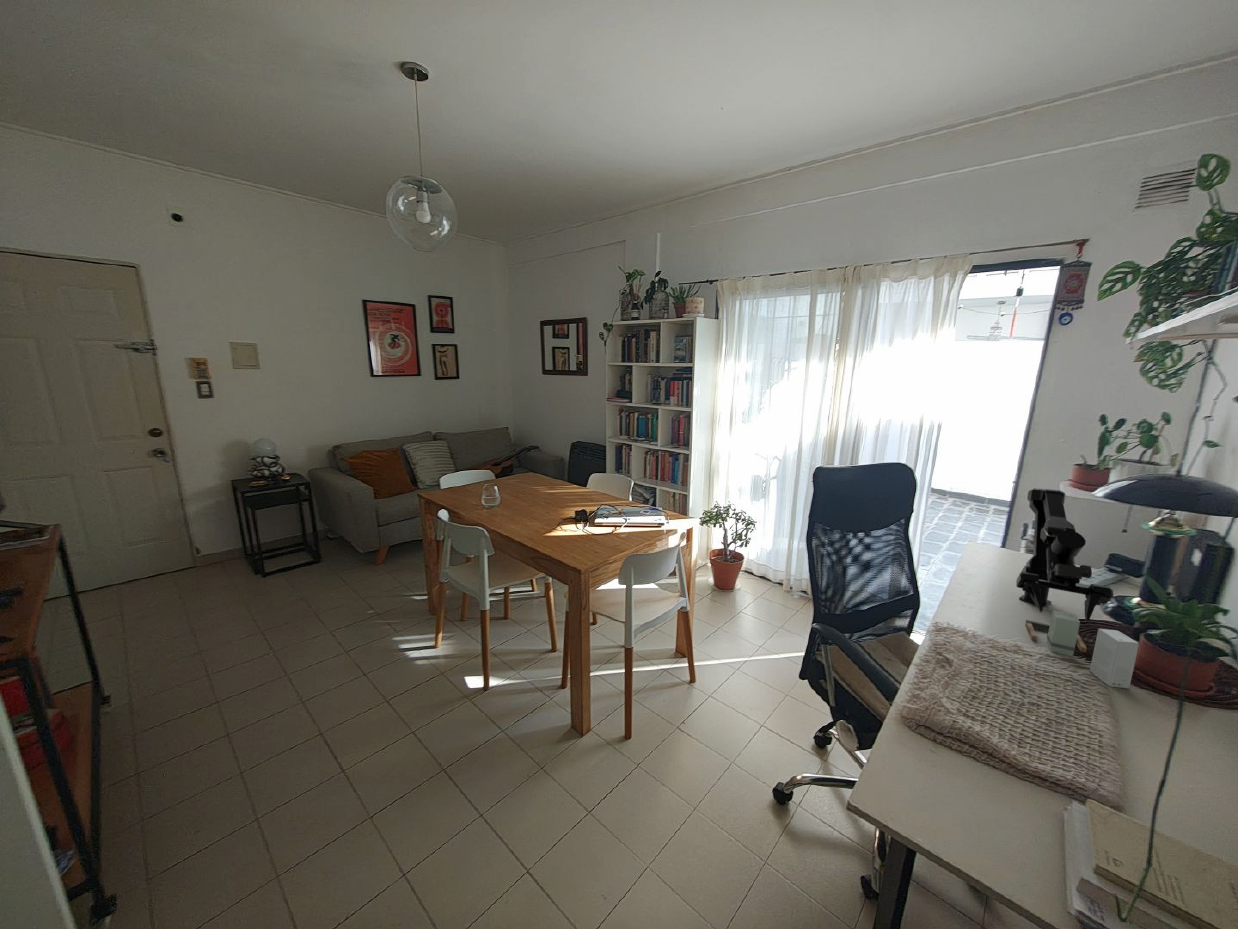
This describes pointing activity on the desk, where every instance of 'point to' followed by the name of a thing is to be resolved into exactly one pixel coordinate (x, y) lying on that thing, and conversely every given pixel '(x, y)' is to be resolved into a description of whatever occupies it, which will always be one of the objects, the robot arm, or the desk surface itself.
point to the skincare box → (1114, 658)
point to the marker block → (1063, 633)
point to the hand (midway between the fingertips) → (1063, 616)
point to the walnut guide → (1044, 627)
